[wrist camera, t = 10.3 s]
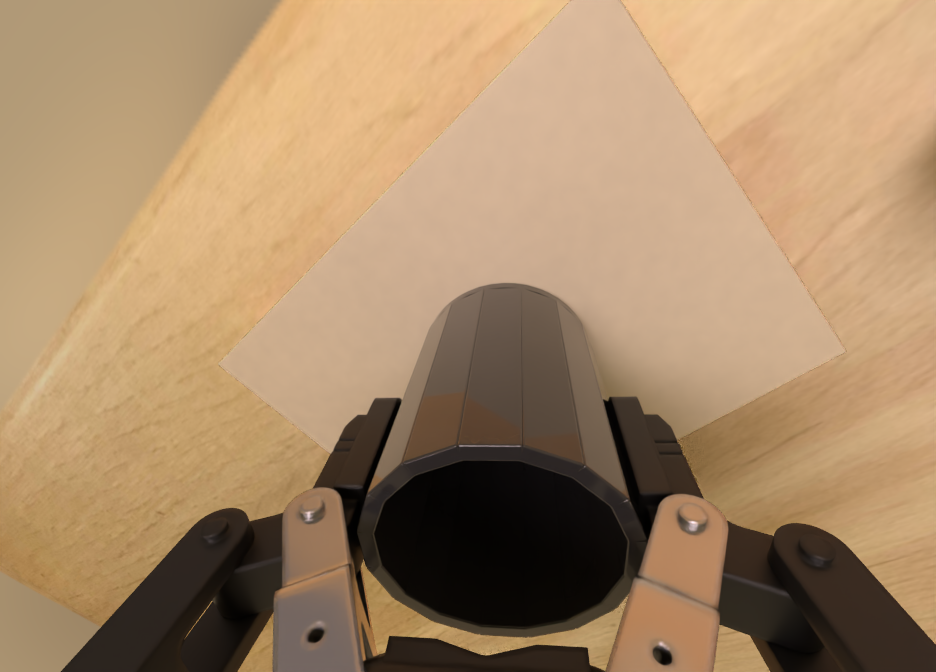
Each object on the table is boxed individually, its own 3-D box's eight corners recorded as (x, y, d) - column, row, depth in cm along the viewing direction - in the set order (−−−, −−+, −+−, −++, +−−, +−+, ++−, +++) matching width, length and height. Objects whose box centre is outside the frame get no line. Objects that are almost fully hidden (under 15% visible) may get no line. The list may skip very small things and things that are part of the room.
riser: (463, 506, 25) (457, 556, 22) (255, 330, 21) (216, 364, 18) (799, 313, 18) (848, 352, 15) (585, -8, 14) (600, -32, 11)
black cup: (434, 424, 18) (383, 630, 11) (415, 285, 16) (330, 444, 9) (587, 424, 18) (632, 644, 11) (595, 278, 15) (663, 446, 8)
